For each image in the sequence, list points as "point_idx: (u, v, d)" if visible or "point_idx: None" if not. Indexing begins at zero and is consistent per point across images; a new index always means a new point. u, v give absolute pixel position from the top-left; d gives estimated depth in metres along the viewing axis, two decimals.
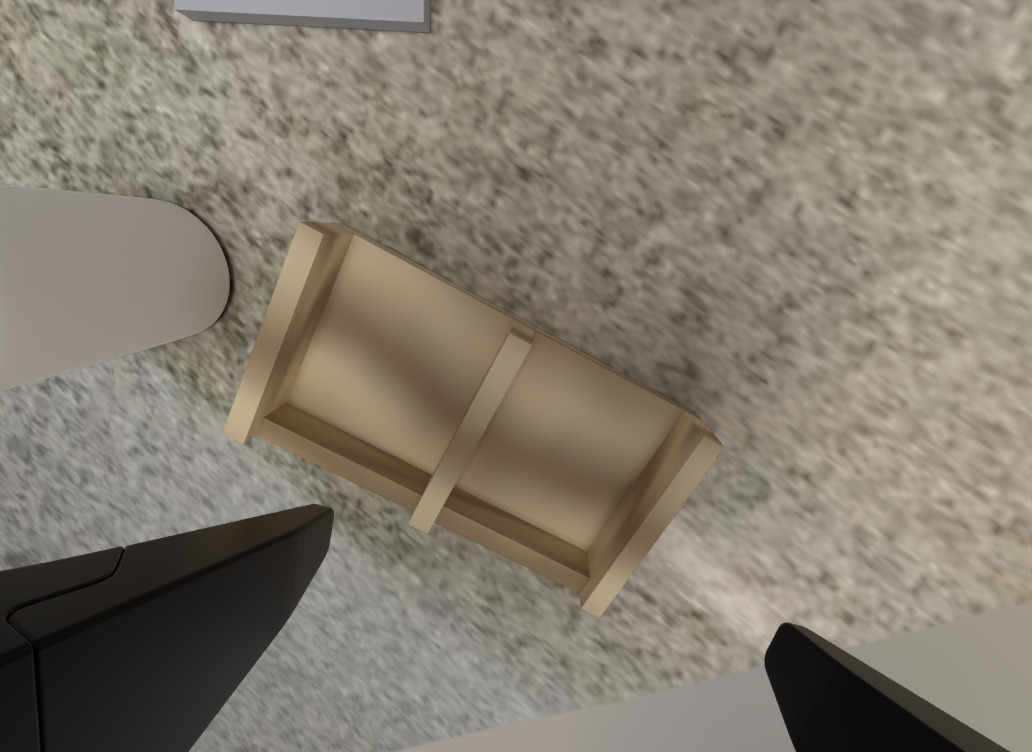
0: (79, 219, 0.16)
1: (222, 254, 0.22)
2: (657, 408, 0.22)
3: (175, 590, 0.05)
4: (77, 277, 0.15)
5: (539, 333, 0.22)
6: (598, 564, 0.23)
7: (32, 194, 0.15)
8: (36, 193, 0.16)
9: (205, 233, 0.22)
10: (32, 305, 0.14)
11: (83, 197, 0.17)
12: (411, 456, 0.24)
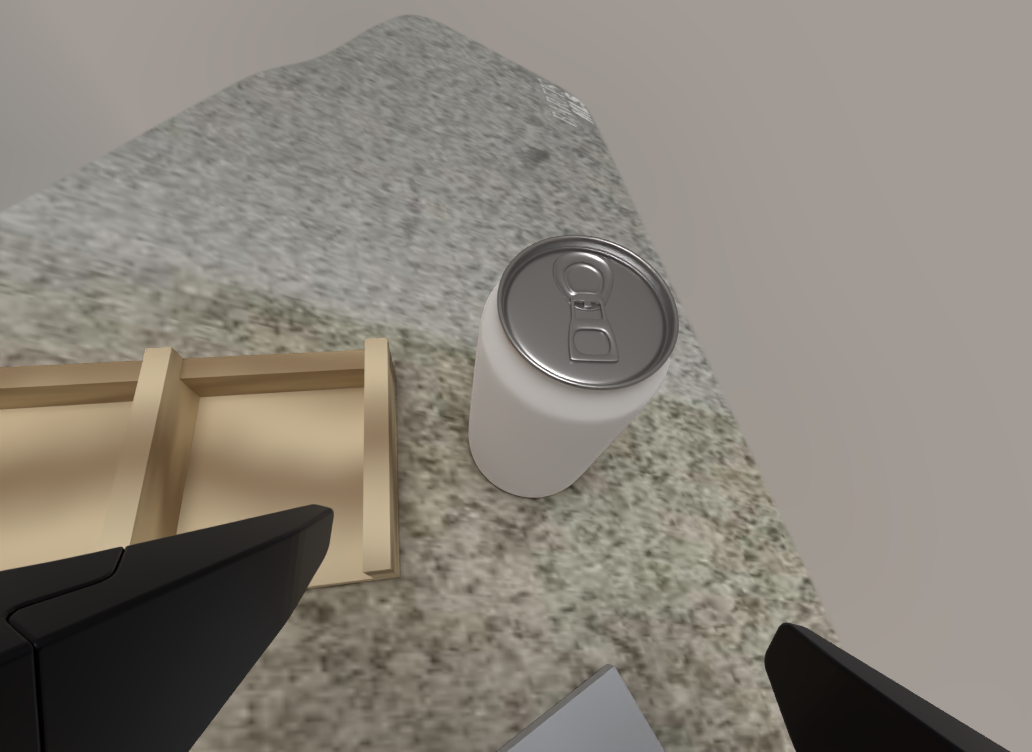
0: (537, 459, 0.18)
1: (489, 479, 0.23)
2: None
3: (175, 590, 0.05)
4: (496, 417, 0.17)
5: None
6: None
7: (573, 458, 0.17)
8: (575, 459, 0.18)
9: (507, 489, 0.23)
10: (489, 383, 0.16)
11: (564, 471, 0.19)
12: (229, 402, 0.23)
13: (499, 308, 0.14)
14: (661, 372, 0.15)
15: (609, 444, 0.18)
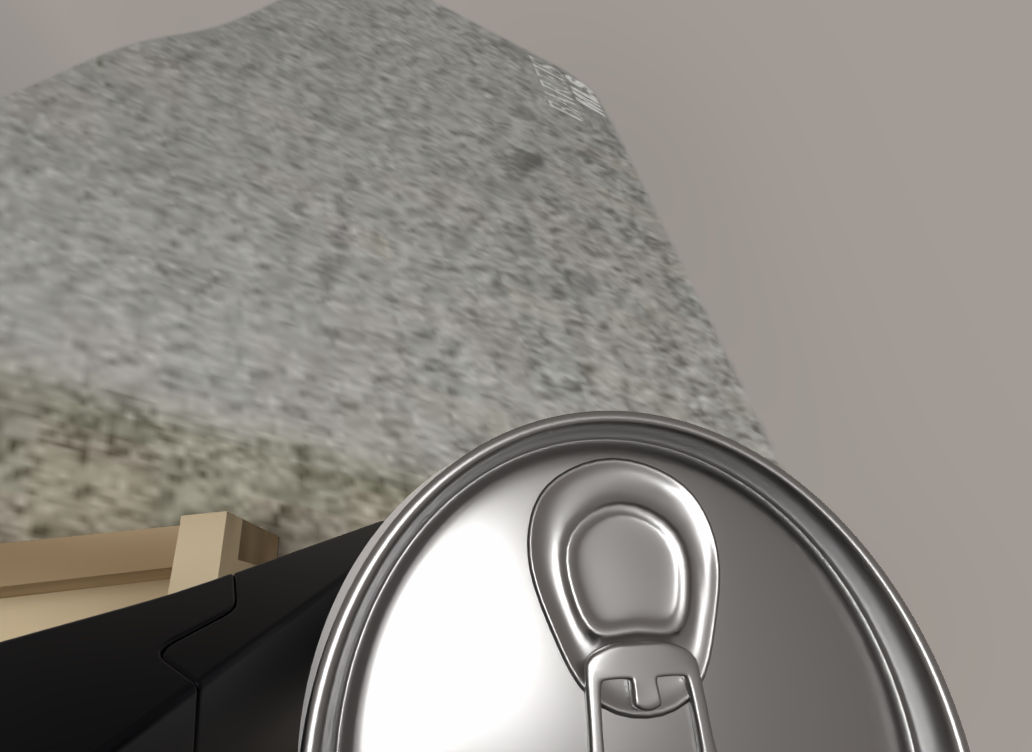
0: None
1: None
2: None
3: (294, 620, 0.05)
4: None
5: None
6: None
7: None
8: None
9: None
10: None
11: None
12: None
13: None
14: None
15: None
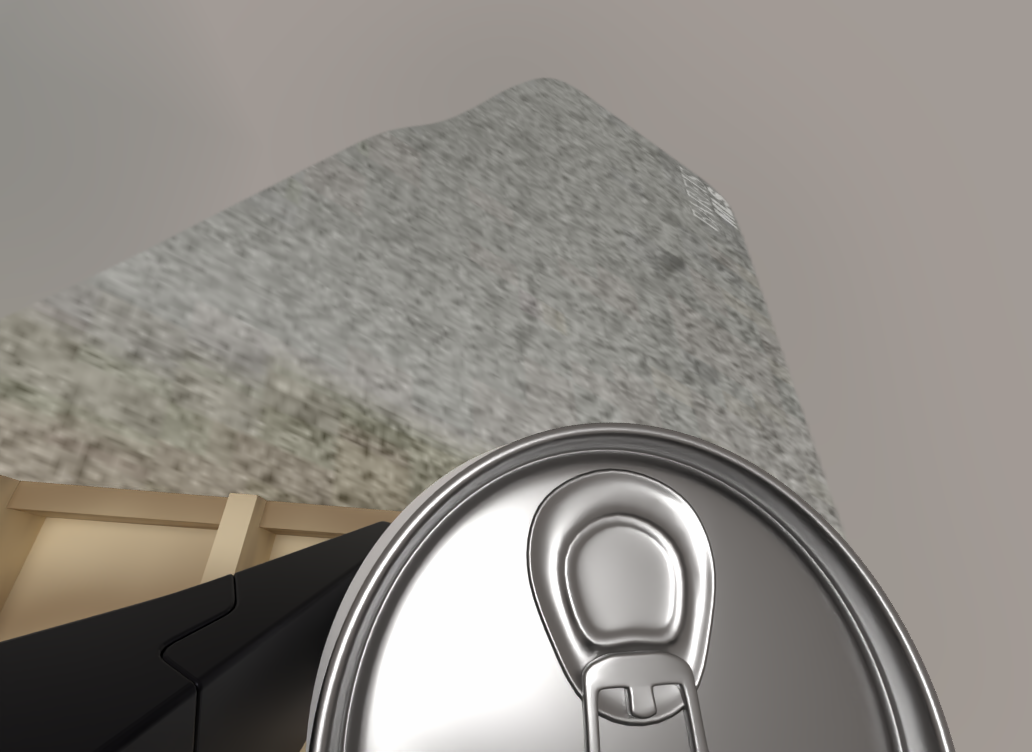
0: None
1: None
2: None
3: (294, 619, 0.05)
4: None
5: None
6: None
7: None
8: None
9: None
10: None
11: None
12: (306, 546, 0.20)
13: None
14: None
15: None
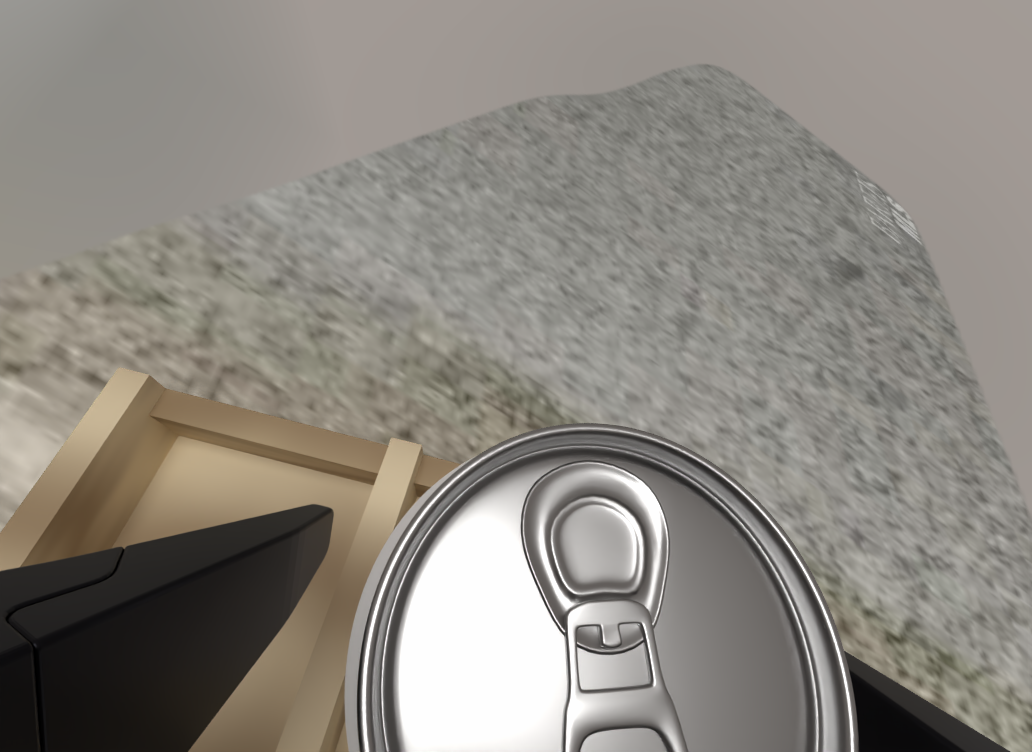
0: None
1: None
2: None
3: (175, 590, 0.05)
4: None
5: None
6: (136, 438, 0.15)
7: None
8: None
9: None
10: None
11: None
12: None
13: (360, 706, 0.05)
14: None
15: None
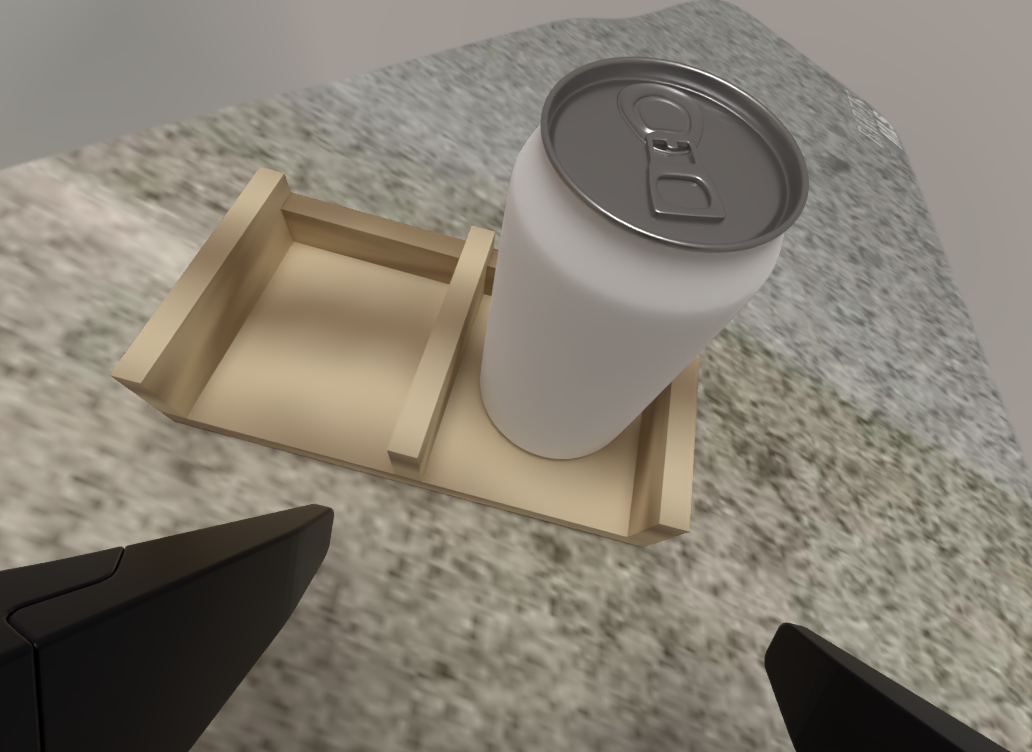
0: (582, 392, 0.13)
1: (506, 436, 0.18)
2: (222, 413, 0.18)
3: (175, 590, 0.05)
4: (529, 328, 0.12)
5: (388, 472, 0.18)
6: (272, 224, 0.20)
7: (631, 389, 0.13)
8: (632, 392, 0.13)
9: (529, 447, 0.18)
10: (523, 270, 0.11)
11: (612, 415, 0.14)
12: None
13: (545, 136, 0.09)
14: (778, 247, 0.10)
15: (677, 374, 0.13)
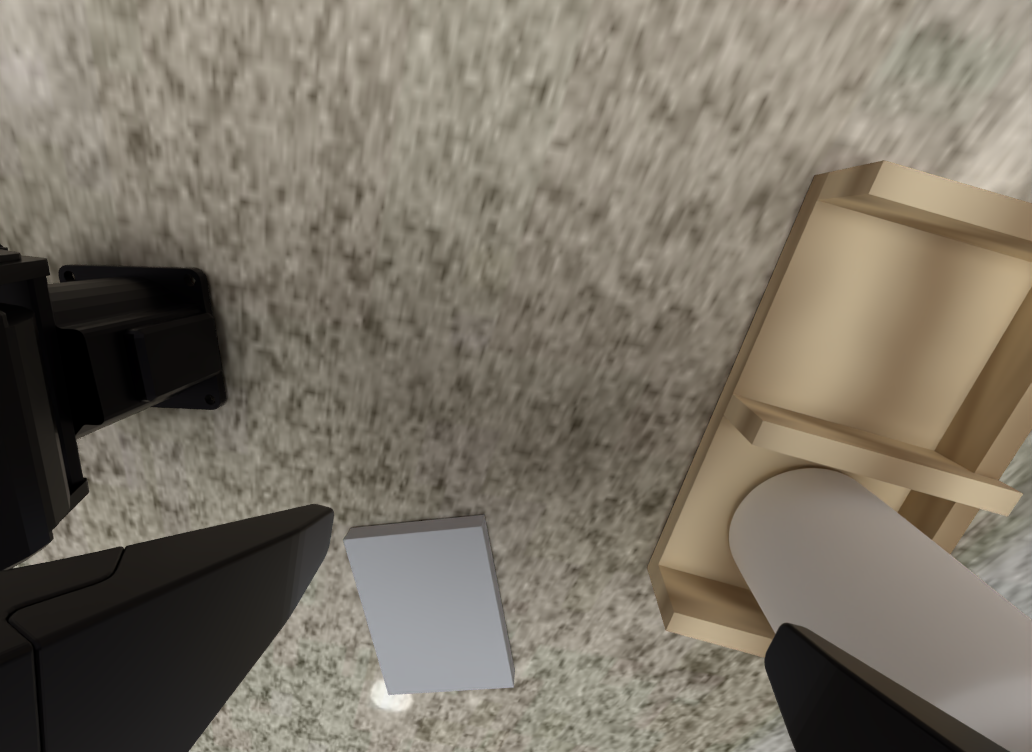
0: (803, 618, 0.16)
1: (756, 488, 0.21)
2: (816, 234, 0.18)
3: (175, 590, 0.05)
4: (877, 611, 0.14)
5: (735, 387, 0.20)
6: None
7: None
8: None
9: (744, 509, 0.21)
10: (943, 647, 0.12)
11: (774, 617, 0.17)
12: (897, 495, 0.21)
13: None
14: None
15: None
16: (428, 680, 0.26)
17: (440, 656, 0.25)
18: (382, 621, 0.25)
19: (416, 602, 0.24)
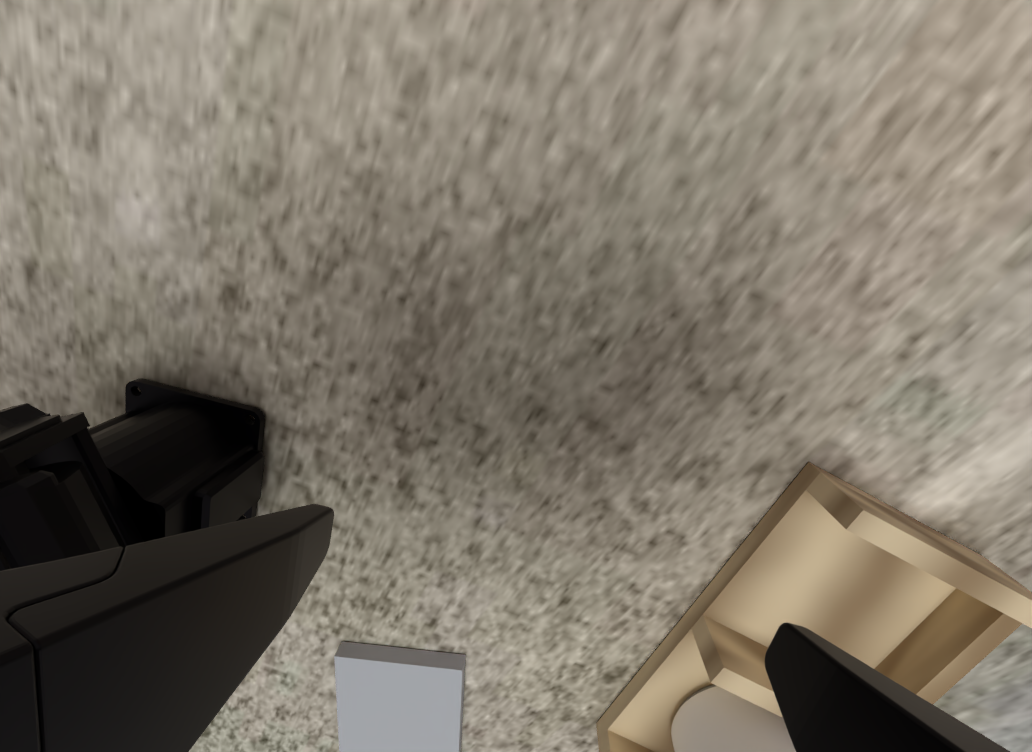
0: None
1: (704, 692, 0.24)
2: (799, 513, 0.22)
3: (175, 590, 0.05)
4: None
5: (705, 609, 0.24)
6: None
7: None
8: None
9: (690, 708, 0.24)
10: None
11: None
12: None
13: None
14: None
15: None
16: None
17: None
18: (352, 727, 0.27)
19: (387, 718, 0.27)
